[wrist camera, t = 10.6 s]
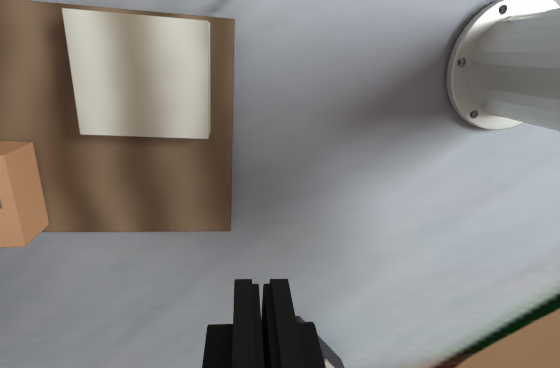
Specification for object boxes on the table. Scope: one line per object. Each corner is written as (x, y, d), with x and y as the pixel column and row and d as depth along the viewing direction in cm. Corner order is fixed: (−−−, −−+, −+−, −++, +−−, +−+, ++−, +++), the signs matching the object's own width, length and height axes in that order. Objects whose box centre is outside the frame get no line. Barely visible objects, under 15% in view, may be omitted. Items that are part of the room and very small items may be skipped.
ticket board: (234, 20, 29) (234, 15, 25) (230, 224, 37) (230, 246, 32) (-144, -13, 25) (-218, -25, 21) (-64, 224, 32) (-108, 250, 28)
